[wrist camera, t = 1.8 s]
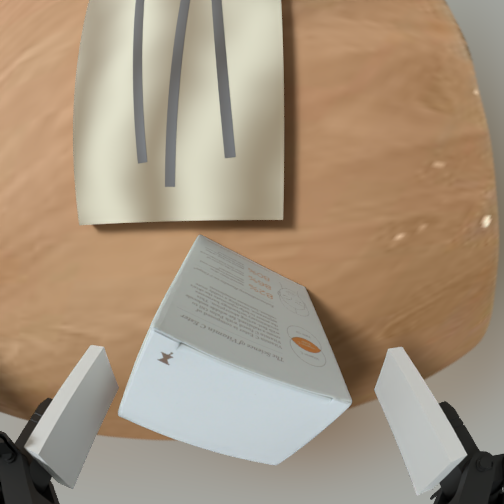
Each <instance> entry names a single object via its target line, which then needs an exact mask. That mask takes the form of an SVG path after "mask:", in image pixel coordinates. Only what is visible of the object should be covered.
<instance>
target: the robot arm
mask: <svg viewBox="0 0 504 504" xmlns="http://www.w3.org/2000/svg"><path fill="white" fill-rule="evenodd" d="M118 388H119V387H118V384H117V382H116V379H115V377H114V374H113V371H112V369H111V366H110V363H109V360H108V358H107V355H106V352H105V349H104V347H101V346H95V345H91V346H90V347H89V348H88V350H87V351H86V352H85V354H84V355H83V357H82V358H81V359H80V361H79V362H78V364H77V365H76V366H75V368H74V369H73V371H72V372H71V374H70V375H69V376H68V378H67V379H66V381H65V382H64V384H63V385H62V387H61V388H60V390H59V391H58V393H57V394H56V396H55V397H54V399H50V398H47V399H46V400H45V401H43V402H42V403H41V404H40V405H39V406H38V408H37V409H36V411H35V414H33V415H32V417H31V418H30V419H31V420H29V421H28V423H27V425H26V426H25V428H24V429H23V431H22V433H21V434H20V436H19V438H18V439H17V441H16V442H15V443H13V442H12V440H11V439H10V438H9V437H8V436H7V434H6V433H4V432H2V431H0V504H59V501H58V498H57V495H56V493H55V490H54V487H53V484H52V483H51V481H50V480H51V477H53V478H54V479H55V480H56V481H57V482H58V483H60V484H62V485H65V486H67V487H69V488H71V489H73V488H74V486H75V483H76V481H77V478H78V476H79V474H80V471H81V469H82V466H83V464H84V462H85V459H86V457H87V455H88V452H89V450H90V448H91V446H92V444H93V441H94V439H95V437H96V435H97V432H98V430H99V428H100V426H101V424H102V422H103V420H104V417H105V415H106V413H107V411H108V409H109V407H110V405H111V403H112V401H113V399H114V397H115V395H116V393H117V391H118ZM374 391H375V393H376V395H377V397H378V400H379V402H380V404H381V406H382V409H383V411H384V414H385V416H386V418H387V420H388V423H389V425H390V428H391V430H392V432H393V435H394V437H395V440H396V442H397V445H398V447H399V449H400V452H401V455H402V457H403V460H404V462H405V465H406V468H407V470H408V473H409V476H410V478H411V481H412V484H413V486H414V489H415V492H416V495H419V494H422V493H425V492H427V491H429V490H432V489H433V488H434V487H435V486H437V485H438V484H439V483H440V485H441V488H440V489H439V490H438V491H437V492H435V493H434V494H433V495H432V496H431V498H430V499H431V500H432V499H433V498H434V497H436V499H435V501H434V504H504V491H503V490H504V489H503V490H502V488H504V454H500V455H495V456H492V455H491V454H490V453H488V452H483V451H479V449H478V448H477V446H476V444H475V442H474V441H473V439H472V437H471V435H470V434H469V432H468V430H467V429H466V427H465V426H464V425H463V422H462V420H461V419H460V418H459V416H458V414H457V412H456V411H455V409H454V408H453V407H452V406H451V405H450V404H448V403H447V402H442V403H439V404H438V402H437V401H436V399H435V397H434V396H433V394H432V392H431V391H430V389H429V388H428V386H427V384H426V383H425V381H424V380H423V378H422V376H421V375H420V373H419V372H418V370H417V369H416V367H415V366H414V364H413V363H412V361H411V360H410V358H409V357H408V355H407V353H406V352H405V351H404V349H403V348H402V347H397V348H390V349H388V351H387V354H386V357H385V361H384V364H383V367H382V369H381V372H380V375H379V378H378V381H377V384H376V386H375V389H374Z"/></svg>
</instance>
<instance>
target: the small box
mask: <svg viewBox="0 0 504 504" xmlns="http://www.w3.org/2000/svg"><path fill="white" fill-rule="evenodd" d="M351 404H352V399H351V396H350V394H349V391H348V389H347V386H346V384H345V381H344V379H343V376H342V374H341V371H340V368H339V366H338V364H337V361H336V359H335V356H334V354H333V351H332V349H331V346H330V344H329V342H328V339H327V337H326V334H325V332H324V330H323V327H322V325H321V322H320V320H319V318H318V316H317V313H316V311H315V309H314V306H313V304H312V302H311V299H310V297H309V295H308V292H307V290H306V288H305V287H304V286H302V285H299V284H297V283H295V282H293V281H291V280H289V279H287V278H285V277H283V276H281V275H279V274H277V273H275V272H273V271H271V270H269V269H267V268H265V267H263V266H261V265H259V264H257V263H255V262H254V261H252V260H250V259H248V258H246V257H244V256H242V255H240V254H238V253H236V252H234V251H232V250H230V249H228V248H226V247H224V246H222V245H220V244H218V243H216V242H214V241H212V240H210V239H208V238H206V237H205V236H203V235H198V237H197V238H196V240H195V242H194V244H193V246H192V247H191V249H190V251H189V253H188V255H187V256H186V258H185V260H184V262H183V264H182V266H181V267H180V269H179V271H178V273H177V275H176V277H175V279H174V280H173V282H172V284H171V286H170V288H169V289H168V291H167V293H166V295H165V297H164V299H163V301H162V303H161V305H160V307H159V309H158V311H157V313H156V315H155V317H154V319H153V321H152V323H151V325H150V328H149V330H148V332H147V335H146V337H145V339H144V342H143V344H142V346H141V349H140V351H139V354H138V356H137V359H136V362H135V364H134V367H133V370H132V372H131V375H130V378H129V381H128V384H127V386H126V389H125V392H124V395H123V398H122V401H121V404H120V407H119V410H118V415H119V416H120V417H122V418H125V419H127V420H129V421H131V422H133V423H136V424H138V425H140V426H143V427H145V428H147V429H150V430H152V431H155V432H157V433H160V434H162V435H165V436H168V437H170V438H173V439H176V440H179V441H182V442H185V443H188V444H191V445H194V446H197V447H200V448H204V449H207V450H210V451H214V452H217V453H221V454H225V455H229V456H233V457H237V458H241V459H246V460H250V461H255V462H260V463H265V464H271V465H278V464H279V463H281V462H282V461H284V460H285V459H287V458H288V457H289V456H291V455H292V454H294V453H295V452H296V451H298V450H299V449H300V448H301V447H303V446H304V445H305V444H307V443H308V442H309V441H310V440H312V439H313V438H314V437H315V436H317V435H318V434H319V433H320V432H322V431H323V430H324V429H325V428H326V427H327V426H329V425H330V424H331V423H332V422H333V421H334V420H335V419H337V418H338V417H339V416H340V415H341V414H342V413H343V412H344V411H345V410H346V409H347V408H348V407H349V406H350V405H351Z"/></svg>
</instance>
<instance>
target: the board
mask: <svg viewBox="0 0 504 504" xmlns="http://www.w3.org/2000/svg"><path fill="white" fill-rule="evenodd" d="M73 156H74V176H75V190H76V201H77V210H78V218H79V225H91V224H111V223H133V222H161V221H201V220H283V199H284V69H283V33H282V8H281V0H89V3H88V7H87V12H86V16H85V21H84V26H83V31H82V36H81V42H80V49H79V56H78V63H77V72H76V82H75V95H74V115H73Z"/></svg>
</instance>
